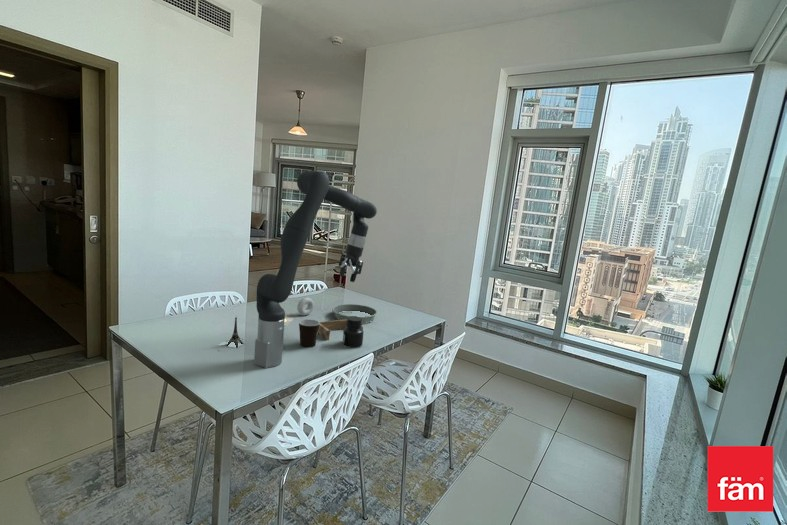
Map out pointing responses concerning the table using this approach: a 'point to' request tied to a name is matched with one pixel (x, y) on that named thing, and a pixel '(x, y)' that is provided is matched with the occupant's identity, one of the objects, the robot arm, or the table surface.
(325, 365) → the table surface
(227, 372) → the table surface
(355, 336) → the ink bottle
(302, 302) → the donut
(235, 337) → the eiffel tower figurine
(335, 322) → the corral
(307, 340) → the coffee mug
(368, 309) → the cake pan
